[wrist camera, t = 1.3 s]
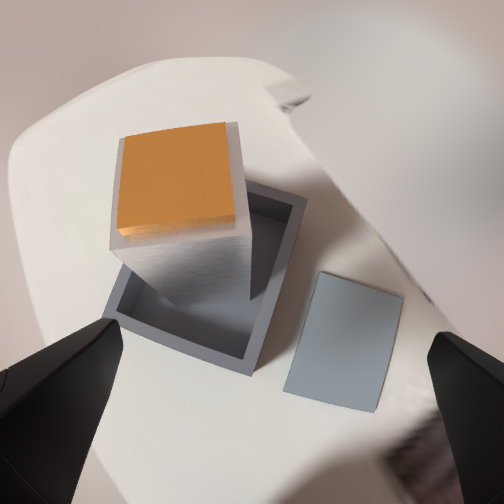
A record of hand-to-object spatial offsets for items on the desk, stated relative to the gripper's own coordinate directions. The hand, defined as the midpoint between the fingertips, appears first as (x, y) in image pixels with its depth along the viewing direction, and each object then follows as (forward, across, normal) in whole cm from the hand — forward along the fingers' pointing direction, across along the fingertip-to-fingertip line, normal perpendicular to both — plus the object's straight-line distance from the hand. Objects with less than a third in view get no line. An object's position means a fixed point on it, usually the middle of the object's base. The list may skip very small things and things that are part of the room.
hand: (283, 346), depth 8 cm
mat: (+11, -6, +9) cm, 16 cm away
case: (+15, +4, +5) cm, 16 cm away
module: (+14, +4, +5) cm, 15 cm away
